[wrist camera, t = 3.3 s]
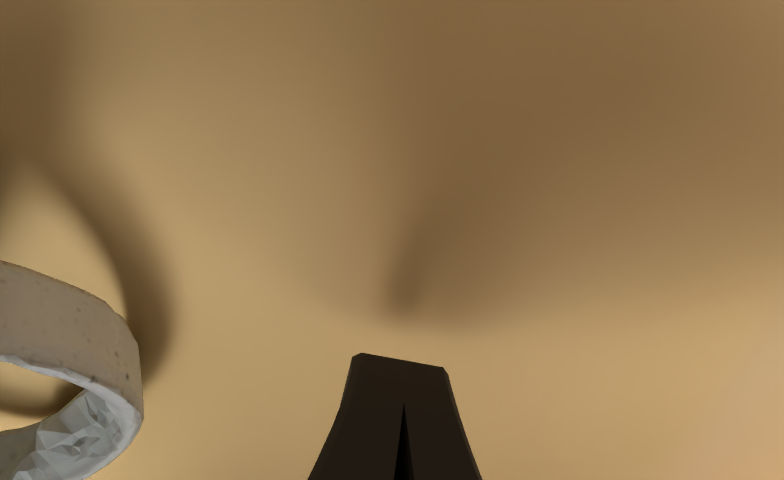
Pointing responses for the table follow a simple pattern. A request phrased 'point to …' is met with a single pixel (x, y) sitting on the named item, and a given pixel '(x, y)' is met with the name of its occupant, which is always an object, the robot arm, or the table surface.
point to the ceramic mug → (68, 376)
